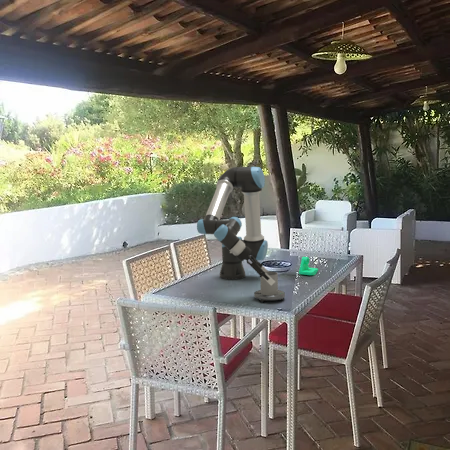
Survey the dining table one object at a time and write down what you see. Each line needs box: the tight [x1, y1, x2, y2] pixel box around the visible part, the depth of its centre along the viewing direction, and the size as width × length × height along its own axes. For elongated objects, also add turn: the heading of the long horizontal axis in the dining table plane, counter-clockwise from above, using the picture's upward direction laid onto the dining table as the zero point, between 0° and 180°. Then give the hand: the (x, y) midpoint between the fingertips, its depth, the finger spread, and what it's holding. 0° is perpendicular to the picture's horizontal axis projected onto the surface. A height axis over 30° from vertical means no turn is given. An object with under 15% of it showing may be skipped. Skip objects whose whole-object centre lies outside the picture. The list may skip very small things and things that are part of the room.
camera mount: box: [298, 256, 319, 276], centre depth 293 cm, size 12×8×10 cm, turn 149°
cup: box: [260, 270, 279, 296], centre depth 243 cm, size 8×8×10 cm
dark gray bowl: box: [253, 289, 286, 303], centre depth 243 cm, size 15×15×3 cm
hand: (271, 280), depth 242 cm, fingers open, 13 cm apart
